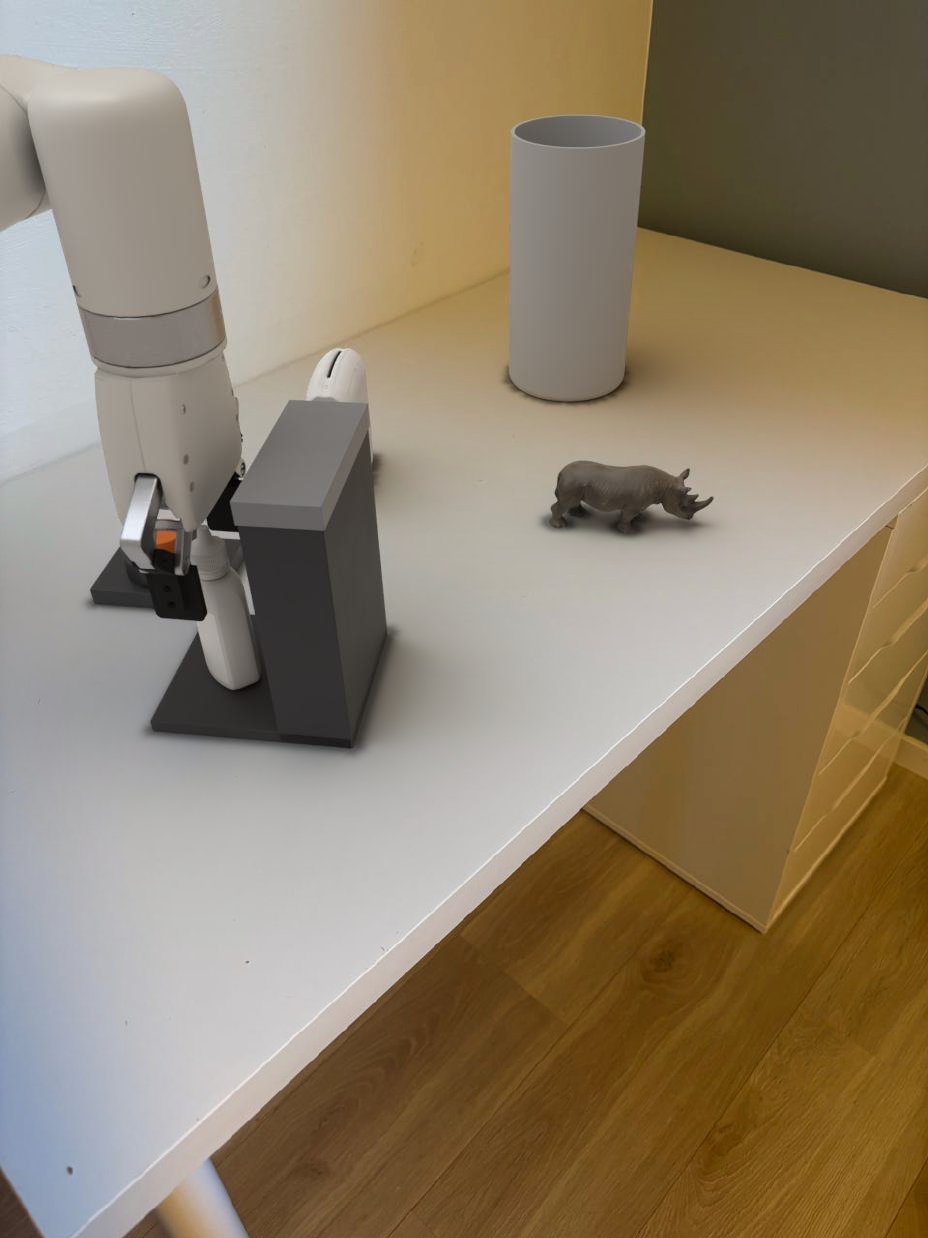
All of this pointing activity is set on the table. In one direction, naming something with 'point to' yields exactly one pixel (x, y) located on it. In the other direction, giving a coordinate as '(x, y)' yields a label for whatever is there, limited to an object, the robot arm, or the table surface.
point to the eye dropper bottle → (224, 615)
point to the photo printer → (340, 380)
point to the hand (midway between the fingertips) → (208, 570)
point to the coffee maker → (299, 589)
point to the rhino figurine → (621, 492)
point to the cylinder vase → (572, 253)
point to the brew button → (166, 540)
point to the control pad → (139, 578)
